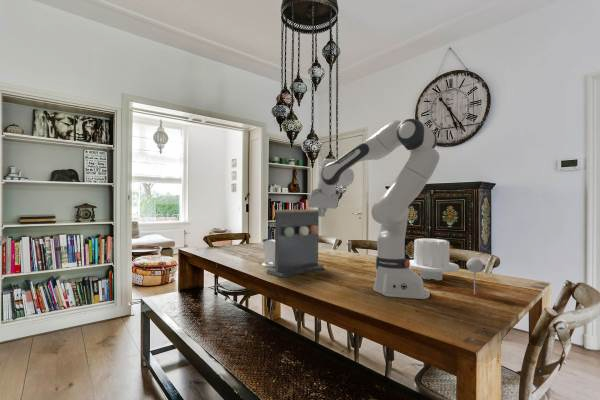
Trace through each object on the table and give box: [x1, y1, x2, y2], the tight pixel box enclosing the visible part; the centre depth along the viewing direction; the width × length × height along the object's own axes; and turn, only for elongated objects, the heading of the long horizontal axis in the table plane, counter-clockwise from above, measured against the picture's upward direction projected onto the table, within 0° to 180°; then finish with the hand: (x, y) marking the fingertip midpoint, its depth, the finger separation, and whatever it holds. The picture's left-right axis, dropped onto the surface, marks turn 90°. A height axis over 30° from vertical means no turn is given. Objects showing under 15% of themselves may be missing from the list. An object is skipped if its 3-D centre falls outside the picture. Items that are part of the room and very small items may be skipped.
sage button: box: [283, 227, 294, 237], centre depth 157 cm, size 3×5×5 cm, turn 137°
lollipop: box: [466, 257, 484, 295], centre depth 126 cm, size 6×6×15 cm
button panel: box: [266, 209, 324, 278], centre depth 167 cm, size 12×32×33 cm, turn 137°
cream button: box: [299, 226, 309, 236], centre depth 163 cm, size 3×5×5 cm, turn 137°
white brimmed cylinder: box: [409, 238, 460, 281], centre depth 155 cm, size 25×25×19 cm
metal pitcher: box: [261, 238, 275, 268], centre depth 182 cm, size 12×11×15 cm
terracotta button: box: [309, 225, 320, 234], centre depth 172 cm, size 3×5×5 cm, turn 137°
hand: (321, 216), depth 158 cm, fingers closed
